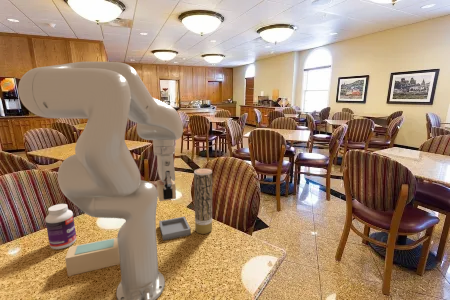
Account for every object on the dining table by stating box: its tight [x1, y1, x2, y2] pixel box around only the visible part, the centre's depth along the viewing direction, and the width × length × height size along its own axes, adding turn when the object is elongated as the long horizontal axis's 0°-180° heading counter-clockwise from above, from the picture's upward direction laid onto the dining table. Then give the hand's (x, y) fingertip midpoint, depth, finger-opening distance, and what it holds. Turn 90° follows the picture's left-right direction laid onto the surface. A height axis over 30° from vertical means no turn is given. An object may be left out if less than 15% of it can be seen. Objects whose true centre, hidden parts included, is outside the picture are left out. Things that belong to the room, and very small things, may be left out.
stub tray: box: [158, 216, 192, 241], centre depth 93 cm, size 11×11×2 cm
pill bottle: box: [45, 203, 77, 250], centre depth 82 cm, size 8×8×14 cm
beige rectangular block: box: [64, 237, 120, 277], centre depth 73 cm, size 6×14×6 cm, turn 112°
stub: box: [156, 179, 177, 202], centre depth 88 cm, size 6×6×6 cm
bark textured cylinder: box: [193, 167, 213, 235], centre depth 91 cm, size 7×7×25 cm
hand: (166, 194), depth 88 cm, fingers closed on stub, 6 cm apart
